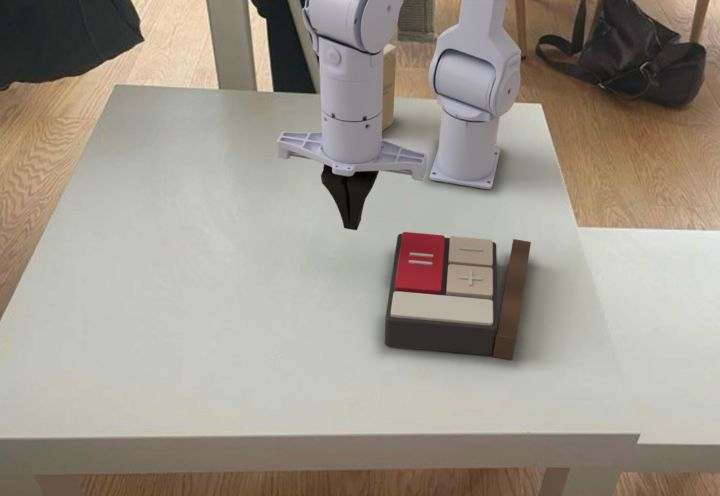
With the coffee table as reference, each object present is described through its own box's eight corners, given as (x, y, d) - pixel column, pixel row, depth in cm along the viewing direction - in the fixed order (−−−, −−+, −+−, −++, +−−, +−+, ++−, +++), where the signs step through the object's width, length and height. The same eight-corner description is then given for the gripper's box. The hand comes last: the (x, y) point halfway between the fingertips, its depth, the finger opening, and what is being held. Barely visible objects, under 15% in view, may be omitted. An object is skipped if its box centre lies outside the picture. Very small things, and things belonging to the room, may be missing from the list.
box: (373, 138, 109) (375, 59, 101) (346, 128, 111) (346, 49, 103) (394, 122, 113) (397, 45, 105) (368, 112, 114) (369, 35, 106)
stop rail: (509, 259, 93) (513, 238, 91) (527, 262, 93) (531, 241, 91) (492, 357, 82) (496, 335, 80) (512, 360, 82) (516, 339, 80)
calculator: (497, 235, 90) (498, 323, 79) (492, 267, 93) (493, 356, 82) (398, 226, 90) (385, 313, 79) (396, 258, 93) (383, 346, 82)
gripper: (262, 115, 74) (273, 235, 83) (420, 140, 73) (412, 258, 83) (286, 79, 79) (294, 196, 88) (433, 102, 78) (425, 217, 88)
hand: (352, 223), depth 86 cm, fingers closed
